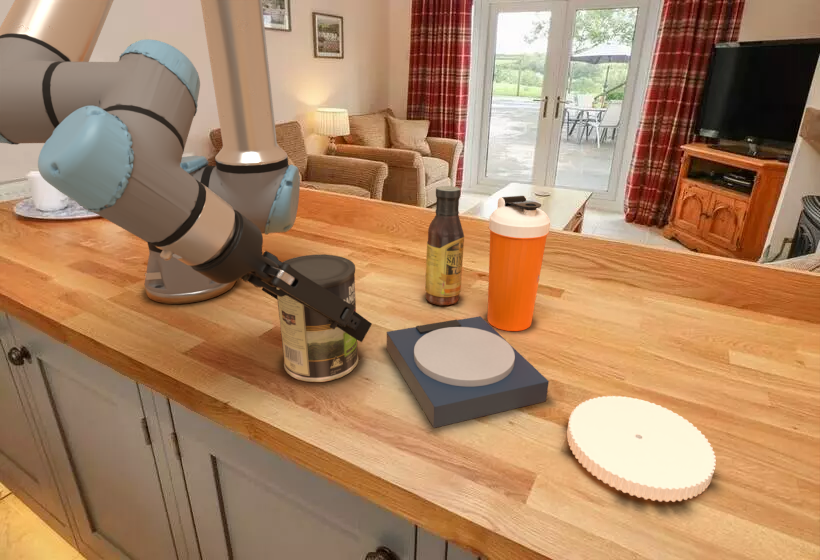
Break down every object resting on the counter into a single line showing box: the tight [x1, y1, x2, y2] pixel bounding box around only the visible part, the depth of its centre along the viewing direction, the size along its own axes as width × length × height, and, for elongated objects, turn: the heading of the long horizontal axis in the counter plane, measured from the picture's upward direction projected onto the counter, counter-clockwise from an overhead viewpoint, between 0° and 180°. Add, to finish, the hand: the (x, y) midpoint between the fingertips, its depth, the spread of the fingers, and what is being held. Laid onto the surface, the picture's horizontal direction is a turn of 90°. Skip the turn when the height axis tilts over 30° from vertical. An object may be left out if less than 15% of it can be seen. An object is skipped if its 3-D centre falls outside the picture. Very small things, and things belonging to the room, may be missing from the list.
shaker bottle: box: [487, 195, 551, 332], centre depth 76 cm, size 9×9×20 cm
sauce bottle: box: [424, 185, 465, 306], centre depth 83 cm, size 7×6×20 cm
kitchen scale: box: [386, 315, 550, 429], centre depth 65 cm, size 18×15×4 cm
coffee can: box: [276, 254, 359, 383], centre depth 66 cm, size 10×10×14 cm
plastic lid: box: [566, 395, 717, 503], centre depth 52 cm, size 14×14×2 cm
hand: (330, 316), depth 67 cm, fingers open, 13 cm apart
